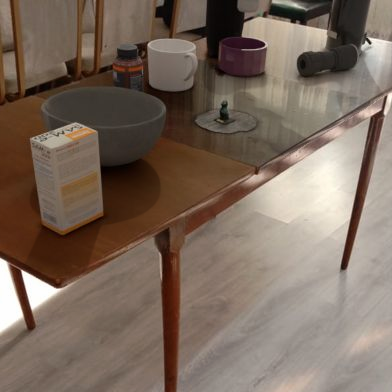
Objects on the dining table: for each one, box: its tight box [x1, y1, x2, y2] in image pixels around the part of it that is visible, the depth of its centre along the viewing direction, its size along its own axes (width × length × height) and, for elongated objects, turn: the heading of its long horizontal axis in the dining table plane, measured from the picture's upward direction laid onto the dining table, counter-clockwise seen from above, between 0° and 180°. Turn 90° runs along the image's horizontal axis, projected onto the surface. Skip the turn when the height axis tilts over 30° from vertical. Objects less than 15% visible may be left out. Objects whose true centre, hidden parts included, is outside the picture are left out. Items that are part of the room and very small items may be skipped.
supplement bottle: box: [112, 43, 144, 93], centre depth 125 cm, size 6×6×11 cm
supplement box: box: [29, 123, 104, 236], centre depth 88 cm, size 8×5×13 cm, turn 139°
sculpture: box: [194, 100, 258, 134], centre depth 124 cm, size 12×9×8 cm
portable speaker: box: [204, 0, 246, 58], centre depth 152 cm, size 9×9×20 cm
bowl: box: [40, 85, 167, 167], centre depth 105 cm, size 20×20×10 cm
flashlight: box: [296, 44, 360, 77], centre depth 150 cm, size 15×5×5 cm, turn 121°
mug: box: [146, 38, 199, 93], centre depth 136 cm, size 13×10×8 cm
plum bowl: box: [217, 36, 269, 78], centre depth 148 cm, size 11×11×6 cm
